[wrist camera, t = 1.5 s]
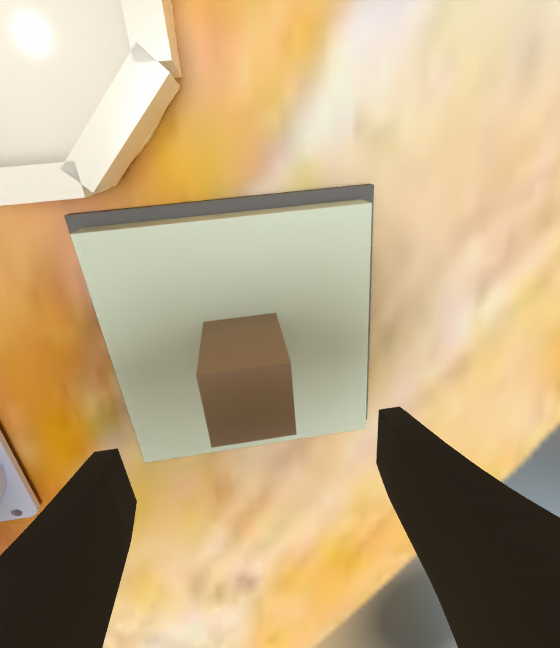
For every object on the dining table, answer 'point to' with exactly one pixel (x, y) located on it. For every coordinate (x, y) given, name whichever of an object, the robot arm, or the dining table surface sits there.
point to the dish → (80, 92)
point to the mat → (226, 211)
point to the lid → (235, 323)
